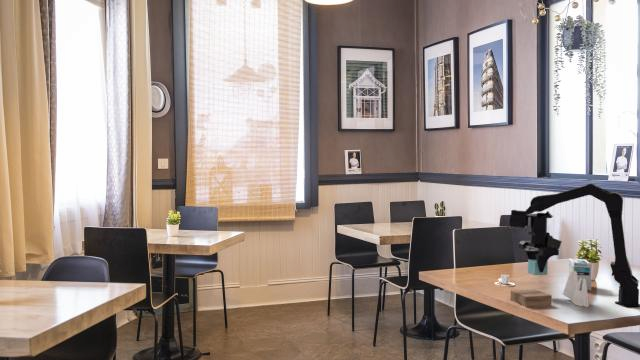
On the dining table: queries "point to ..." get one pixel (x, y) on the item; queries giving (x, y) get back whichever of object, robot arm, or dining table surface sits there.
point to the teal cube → (535, 267)
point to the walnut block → (531, 298)
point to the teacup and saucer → (504, 280)
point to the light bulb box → (581, 270)
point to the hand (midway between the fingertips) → (537, 270)
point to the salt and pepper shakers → (576, 290)
